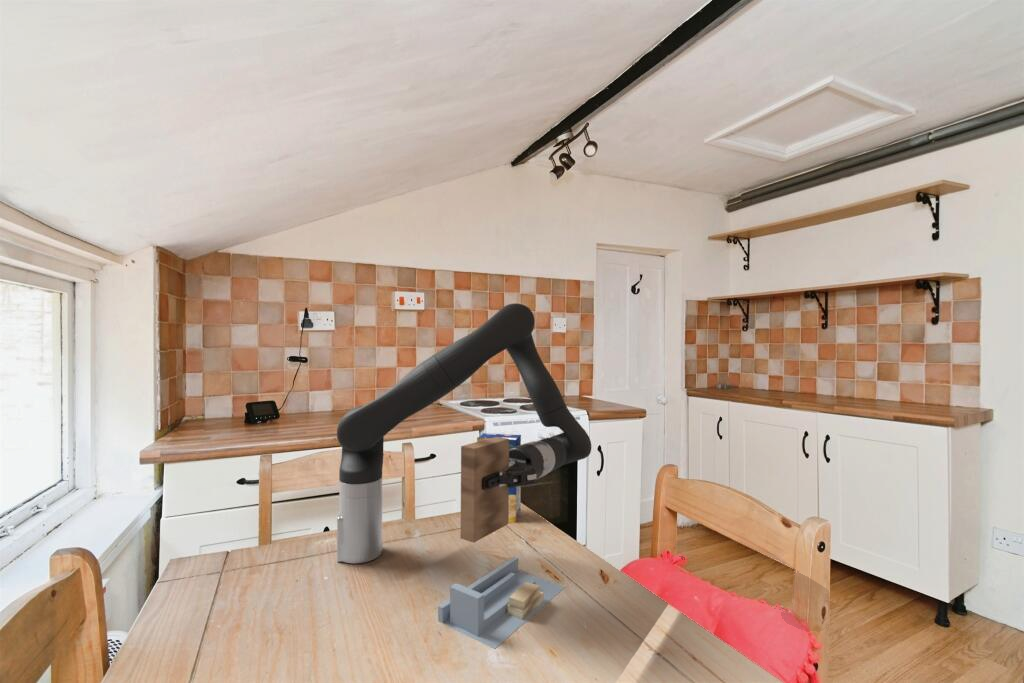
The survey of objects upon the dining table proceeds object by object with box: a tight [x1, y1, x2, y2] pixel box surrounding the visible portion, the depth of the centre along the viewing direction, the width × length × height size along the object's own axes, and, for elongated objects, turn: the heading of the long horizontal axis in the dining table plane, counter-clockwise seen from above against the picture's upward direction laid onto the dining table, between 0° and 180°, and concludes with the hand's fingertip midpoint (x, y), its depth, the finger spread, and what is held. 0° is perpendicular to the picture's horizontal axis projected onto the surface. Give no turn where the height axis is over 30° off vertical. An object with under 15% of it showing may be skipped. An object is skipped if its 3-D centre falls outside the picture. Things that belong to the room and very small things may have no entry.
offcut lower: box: [508, 591, 544, 620], centre depth 82 cm, size 7×3×2 cm, turn 144°
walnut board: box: [459, 437, 509, 544], centre depth 84 cm, size 10×3×16 cm, turn 144°
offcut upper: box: [509, 582, 540, 611], centre depth 82 cm, size 6×3×2 cm, turn 149°
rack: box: [437, 556, 566, 649], centre depth 84 cm, size 22×12×8 cm, turn 144°
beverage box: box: [476, 432, 522, 523], centre depth 129 cm, size 7×11×22 cm, turn 79°
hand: (475, 482), depth 82 cm, fingers closed on walnut board, 3 cm apart
